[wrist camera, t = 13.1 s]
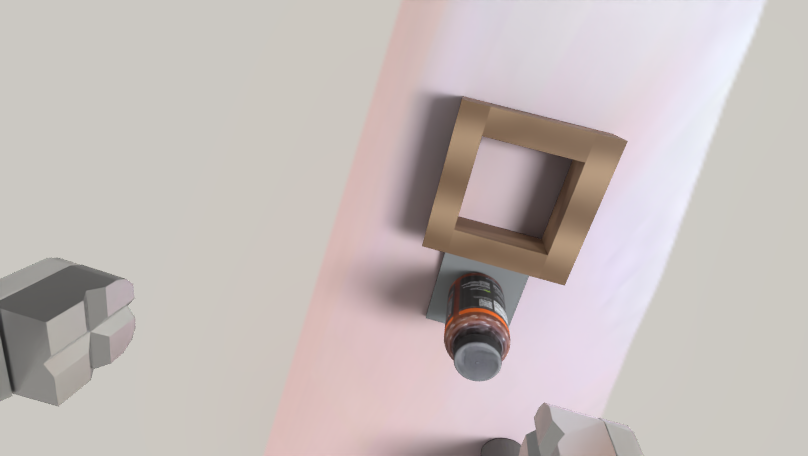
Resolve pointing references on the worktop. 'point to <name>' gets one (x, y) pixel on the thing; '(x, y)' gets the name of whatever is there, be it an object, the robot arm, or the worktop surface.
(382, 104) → the worktop surface
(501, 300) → the supplement bottle
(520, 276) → the grey mat
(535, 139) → the frame
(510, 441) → the bottle
